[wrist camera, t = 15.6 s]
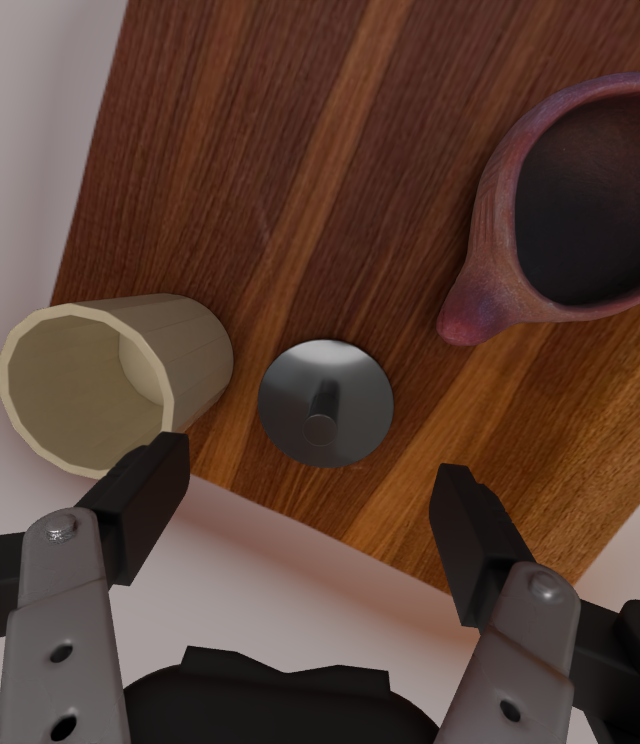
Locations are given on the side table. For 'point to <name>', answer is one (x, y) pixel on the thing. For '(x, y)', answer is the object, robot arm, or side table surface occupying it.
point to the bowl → (555, 217)
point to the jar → (111, 376)
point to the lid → (325, 403)
